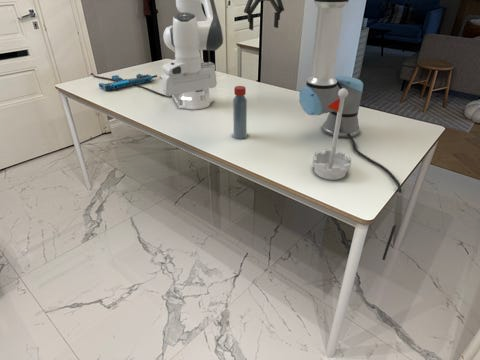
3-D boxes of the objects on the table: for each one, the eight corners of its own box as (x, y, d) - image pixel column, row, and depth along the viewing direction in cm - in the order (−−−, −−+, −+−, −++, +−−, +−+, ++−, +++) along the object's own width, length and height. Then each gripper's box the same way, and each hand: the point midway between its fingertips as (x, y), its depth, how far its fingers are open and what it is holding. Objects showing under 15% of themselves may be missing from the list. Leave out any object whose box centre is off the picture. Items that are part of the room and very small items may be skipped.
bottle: (237, 140, 142) (237, 91, 131) (231, 135, 146) (230, 87, 135) (249, 137, 145) (249, 89, 133) (242, 132, 149) (242, 85, 137)
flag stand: (334, 159, 128) (348, 80, 112) (356, 176, 118) (375, 92, 101) (304, 166, 124) (314, 84, 108) (324, 184, 114) (338, 97, 97)
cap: (238, 96, 133) (238, 90, 131) (232, 93, 136) (232, 87, 135) (247, 94, 135) (247, 88, 133) (241, 91, 138) (241, 85, 137)
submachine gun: (143, 68, 224) (161, 74, 208) (144, 74, 226) (162, 80, 210) (91, 78, 206) (107, 86, 189) (92, 84, 208) (108, 92, 191)
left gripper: (210, 59, 126) (212, 95, 133) (158, 66, 117) (163, 105, 124) (218, 62, 121) (220, 100, 129) (164, 71, 112) (169, 110, 120)
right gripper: (284, -24, 159) (281, 25, 170) (236, -23, 150) (236, 29, 161) (293, -24, 153) (290, 27, 165) (244, -22, 144) (243, 31, 156)
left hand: (191, 102), depth 127 cm, fingers open, 8 cm apart
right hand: (263, 28), depth 163 cm, fingers open, 13 cm apart
